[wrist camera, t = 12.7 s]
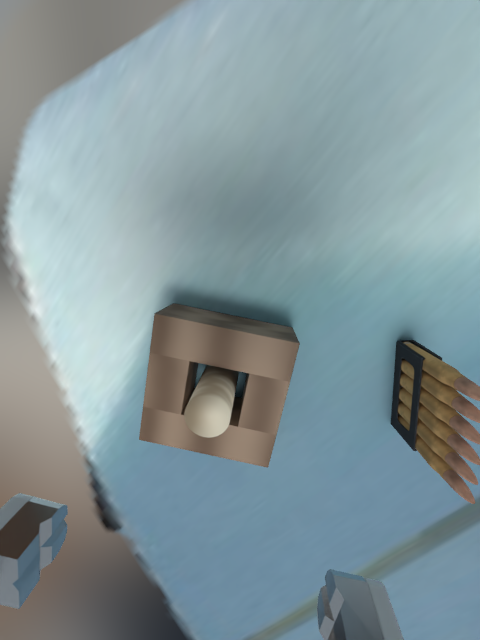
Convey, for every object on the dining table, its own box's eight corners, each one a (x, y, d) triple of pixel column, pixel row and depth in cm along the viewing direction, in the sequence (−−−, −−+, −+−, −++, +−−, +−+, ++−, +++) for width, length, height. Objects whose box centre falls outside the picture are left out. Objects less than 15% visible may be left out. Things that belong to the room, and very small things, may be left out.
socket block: (292, 327, 32) (299, 343, 26) (266, 432, 35) (267, 467, 29) (173, 303, 32) (154, 313, 26) (158, 409, 35) (139, 439, 30)
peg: (241, 358, 33) (234, 401, 23) (235, 388, 34) (225, 441, 24) (209, 352, 33) (188, 391, 24) (203, 382, 34) (181, 432, 24)
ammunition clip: (396, 340, 31) (477, 389, 20) (413, 339, 31) (505, 389, 20) (390, 424, 34) (460, 513, 22) (406, 424, 34) (485, 513, 22)
